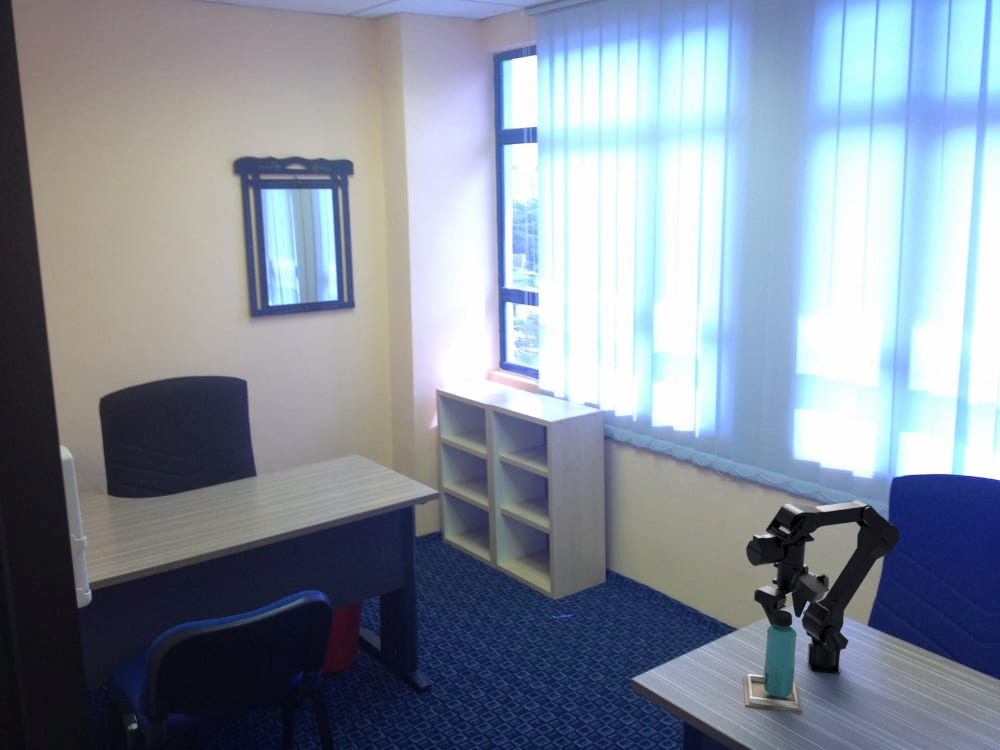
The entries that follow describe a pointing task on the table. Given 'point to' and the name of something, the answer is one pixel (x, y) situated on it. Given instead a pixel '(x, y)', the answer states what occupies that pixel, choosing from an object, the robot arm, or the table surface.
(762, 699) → the tray
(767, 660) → the beverage bottle
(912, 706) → the table surface
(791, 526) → the robot arm
